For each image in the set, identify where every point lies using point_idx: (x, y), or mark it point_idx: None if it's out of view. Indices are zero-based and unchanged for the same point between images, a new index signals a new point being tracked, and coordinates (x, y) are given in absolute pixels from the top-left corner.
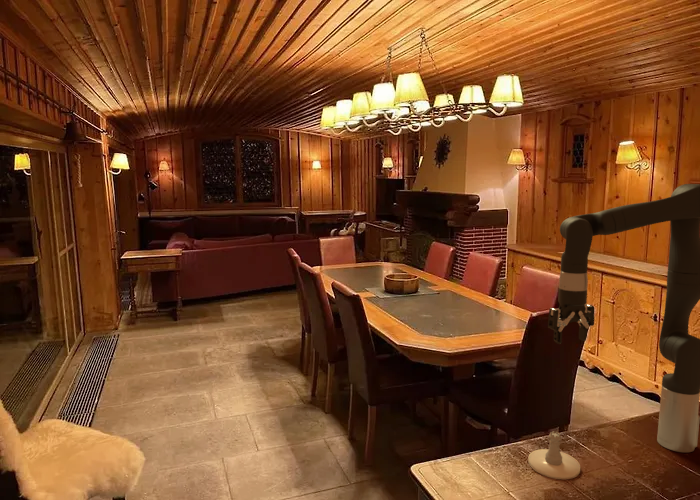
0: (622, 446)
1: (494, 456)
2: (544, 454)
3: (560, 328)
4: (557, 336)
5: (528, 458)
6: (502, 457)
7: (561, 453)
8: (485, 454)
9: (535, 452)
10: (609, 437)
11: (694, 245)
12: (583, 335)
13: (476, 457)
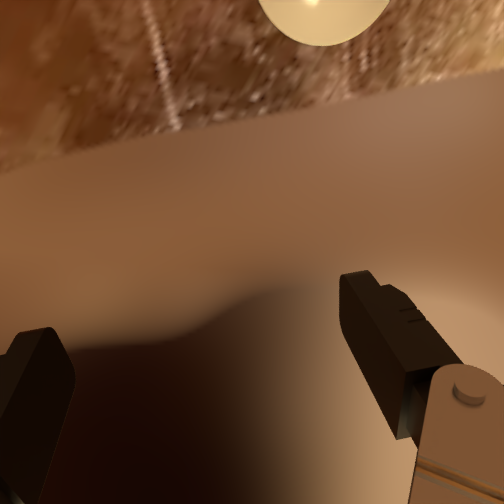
0: (23, 27)
1: (454, 53)
2: (329, 11)
3: (478, 410)
4: (426, 326)
5: (387, 2)
6: (437, 43)
7: (273, 4)
8: (468, 69)
9: (348, 29)
10: (43, 96)
11: None
12: (30, 378)
13: (500, 58)
